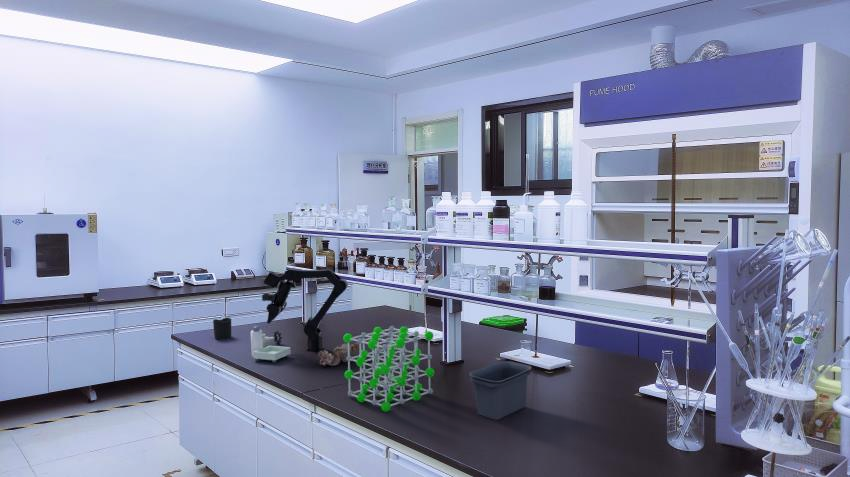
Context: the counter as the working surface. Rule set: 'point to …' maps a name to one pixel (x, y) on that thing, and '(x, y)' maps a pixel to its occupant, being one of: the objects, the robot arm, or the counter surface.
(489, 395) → the storage bin
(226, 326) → the pen holder
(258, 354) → the shallow mint tray
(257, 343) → the bottle
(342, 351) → the mineral formation
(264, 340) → the valve
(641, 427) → the counter surface
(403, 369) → the molecular structure model
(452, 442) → the counter surface
